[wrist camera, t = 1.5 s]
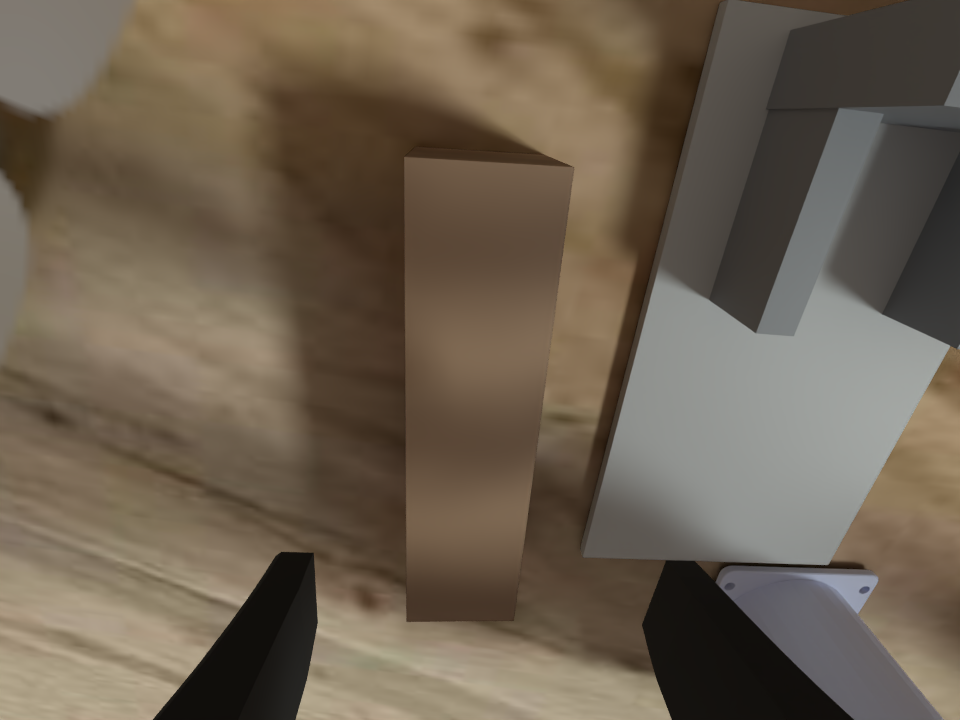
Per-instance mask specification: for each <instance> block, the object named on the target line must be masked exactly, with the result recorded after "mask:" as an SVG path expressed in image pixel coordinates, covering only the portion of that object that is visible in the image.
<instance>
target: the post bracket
mask: <svg viewBox="0 0 960 720" xmlns="http://www.w3.org/2000/svg"><path fill="white" fill-rule="evenodd" d="M950 346H952V347H954V348H956V349H960V0H908V1H904V2H900V3H896V4H892V5H888V6H884V7H880V8H876V9H872V10H868V11H864V12H860V13H856V14H852V15H848V16H845V15H838V14H831V13H824V12H817V11H810V10H803V9H796V8H789V7H782V6H775V5H768V4H761V3H754V2H747V1H740V0H725V1H723V2H720V4H719V8H718V12H717V16H716V20H715V24H714V28H713V31H712V35H711V39H710V43H709V47H708V51H707V55H706V59H705V63H704V67H703V71H702V74H701V78H700V82H699V86H698V90H697V94H696V98H695V102H694V106H693V110H692V114H691V118H690V121H689V125H688V129H687V133H686V137H685V141H684V145H683V149H682V153H681V157H680V161H679V164H678V168H677V172H676V176H675V180H674V184H673V188H672V192H671V196H670V200H669V204H668V207H667V211H666V215H665V219H664V223H663V227H662V231H661V235H660V239H659V243H658V247H657V250H656V254H655V258H654V262H653V266H652V270H651V274H650V278H649V282H648V286H647V290H646V293H645V297H644V301H643V305H642V309H641V313H640V317H639V321H638V325H637V329H636V333H635V336H634V340H633V344H632V348H631V352H630V356H629V360H628V364H627V368H626V372H625V376H624V379H623V383H622V387H621V391H620V395H619V399H618V403H617V407H616V411H615V415H614V419H613V422H612V426H611V430H610V434H609V438H608V442H607V446H606V450H605V454H604V458H603V462H602V465H601V469H600V473H599V477H598V481H597V485H596V489H595V493H594V497H593V501H592V505H591V508H590V512H589V516H588V520H587V524H586V528H585V532H584V536H583V540H582V544H581V548H580V550H581V553H582V557H585V558H617V559H649V560H683V561H713V562H745V563H778V564H810V565H828V564H829V563H830V561H831V559H832V557H833V555H834V554H835V552H836V550H837V548H838V546H839V545H840V543H841V541H842V539H843V537H844V536H845V534H846V532H847V530H848V528H849V527H850V525H851V523H852V521H853V519H854V518H855V516H856V514H857V512H858V511H859V509H860V507H861V505H862V503H863V502H864V500H865V498H866V496H867V494H868V493H869V491H870V489H871V487H872V485H873V484H874V482H875V480H876V478H877V476H878V475H879V473H880V471H881V469H882V467H883V466H884V464H885V462H886V460H887V459H888V457H889V455H890V453H891V451H892V450H893V448H894V446H895V444H896V442H897V441H898V439H899V437H900V435H901V433H902V432H903V430H904V428H905V426H906V424H907V423H908V421H909V419H910V417H911V415H912V414H913V412H914V410H915V408H916V406H917V405H918V403H919V401H920V399H921V398H922V396H923V394H924V392H925V390H926V389H927V387H928V385H929V383H930V381H931V380H932V378H933V376H934V374H935V372H936V371H937V369H938V367H939V365H940V363H941V362H942V360H943V358H944V356H945V354H946V353H947V351H948V349H949V347H950Z"/></svg>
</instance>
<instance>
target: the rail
mask: <svg viewBox="0 0 960 720" xmlns="http://www.w3.org/2000/svg"><path fill="white" fill-rule="evenodd" d="M573 173H574V167H572V166H570V165H568V164H565V163H563V162H560V161H558V160H556V159H553V158H551V157H548V156H546V155H542V154H526V153H509V152H493V151H477V150H461V149H445V148H429V147H414V148H413V149H412V150H411V151H410V152H409V153H408V154H407V155H406V156H405V157H404V225H405V417H406V609H407V622H430V621H514V615H515V608H516V600H517V593H518V585H519V578H520V570H521V563H522V555H523V548H524V540H525V533H526V525H527V518H528V510H529V503H530V495H531V488H532V480H533V473H534V465H535V458H536V450H537V443H538V435H539V428H540V420H541V413H542V405H543V398H544V390H545V383H546V375H547V368H548V360H549V353H550V345H551V338H552V331H553V323H554V316H555V308H556V301H557V293H558V286H559V278H560V271H561V263H562V256H563V248H564V241H565V233H566V226H567V218H568V211H569V203H570V196H571V188H572V181H573Z"/></svg>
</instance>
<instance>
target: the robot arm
mask: <svg viewBox="0 0 960 720" xmlns="http://www.w3.org/2000/svg"><path fill="white" fill-rule="evenodd" d="M877 583H878V577H877V576H876V575H875V573H874V572H872V571H871V570H861V569H828V568H795V567H762V566H727V567H725V568H723V569H722V570H721V571H720V573H719V575H718V578H717V580H716V582H714V580H713V579H712V578H711V577H710V576H709V575H708V574H707V573H706V572H705V571H704V570H703V569H702V568H701V567H700V566H699V565H698V564H697V563H696V562H695V561H683V560H666V563H665V565H664V568H663V571H662V573H661V576H660V579H659V581H658V584H657V586H656V589H655V592H654V594H653V597H652V600H651V602H650V605H649V608H648V610H647V613H646V616H645V618H644V621H643V624H642V626H643V630H644V634H645V638H646V642H647V646H648V650H649V654H650V658H651V661H652V665H653V668H654V672H655V675H656V679H657V682H658V684H659V687H660V690H661V692H662V695H663V698H664V700H665V703H666V705H667V708H668V711H669V713H670V716H671V719H672V720H944V719H943V718H942V717H941V716H940V714H939V713H938V712H937V711H936V710H935V708H934V707H933V706H932V705H931V703H930V702H929V701H928V700H927V699H926V697H925V696H924V695H923V694H922V692H921V691H920V690H919V689H918V688H917V686H916V685H915V684H914V683H913V681H912V680H911V679H910V678H909V677H908V675H907V674H906V673H905V672H904V670H903V669H902V668H901V667H900V666H899V664H898V663H897V662H896V661H895V659H894V658H893V657H892V656H891V655H890V653H889V652H888V651H887V650H886V648H885V647H884V646H883V645H882V644H881V642H880V641H879V640H878V639H877V637H876V636H875V635H874V634H873V633H872V631H871V630H870V629H869V628H868V626H867V625H866V624H865V623H864V622H863V620H862V619H861V618H860V617H859V615H858V613H859V611H860V610H861V608H862V607H863V605H864V603H865V602H866V600H867V599H868V597H869V596H870V594H871V592H872V591H873V589H874V588H875V586H876V584H877ZM317 623H318V620H317V603H316V586H315V568H314V553H300V552H281V553H279V554H278V555H277V556H276V557H275V558H274V560H273V561H272V563H271V564H270V566H269V568H268V569H267V571H266V572H265V574H264V575H263V577H262V578H261V580H260V581H259V583H258V584H257V586H256V587H255V589H254V590H253V592H252V593H251V594H250V596H249V597H248V599H247V600H246V602H245V603H244V604H243V606H242V607H241V609H240V610H239V611H238V613H237V614H236V615H235V617H234V618H233V620H232V621H231V622H230V624H229V625H228V626H227V628H226V629H225V630H224V632H223V633H222V634H221V636H220V637H219V638H218V639H217V641H216V642H215V643H214V645H213V646H212V647H211V649H210V650H209V651H208V653H207V654H206V655H205V657H204V658H203V659H202V660H201V662H200V663H199V664H198V666H197V667H196V668H195V669H194V671H193V672H192V673H191V674H190V675H189V677H188V678H187V679H186V680H185V681H184V683H183V684H182V685H181V686H180V688H179V689H178V690H177V691H176V692H175V694H174V695H173V696H172V697H171V698H170V700H169V701H168V702H167V703H166V704H165V706H164V707H163V708H162V709H161V710H160V712H159V713H158V714H157V715H156V716H155V718H154V719H153V720H295V719H296V715H297V712H298V709H299V705H300V702H301V698H302V695H303V691H304V688H305V684H306V681H307V676H308V671H309V666H310V661H311V655H312V650H313V645H314V639H315V634H316V629H317Z"/></svg>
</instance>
